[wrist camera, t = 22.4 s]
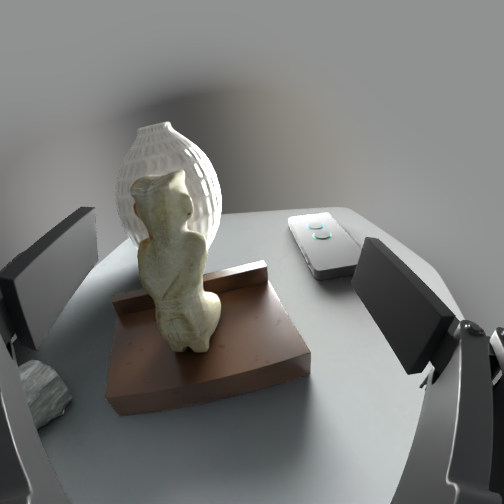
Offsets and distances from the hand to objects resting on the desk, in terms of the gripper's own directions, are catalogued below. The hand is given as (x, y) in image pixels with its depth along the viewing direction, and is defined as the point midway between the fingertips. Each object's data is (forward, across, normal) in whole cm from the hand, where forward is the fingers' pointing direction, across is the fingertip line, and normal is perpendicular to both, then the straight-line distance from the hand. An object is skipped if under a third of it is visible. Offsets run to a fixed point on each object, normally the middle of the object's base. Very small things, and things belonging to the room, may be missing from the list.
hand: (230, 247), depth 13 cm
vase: (+32, -5, -18) cm, 37 cm away
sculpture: (+9, -2, -14) cm, 16 cm away
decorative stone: (0, -20, -22) cm, 30 cm away
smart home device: (+29, +17, -11) cm, 35 cm away
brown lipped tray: (+9, -1, -16) cm, 19 cm away
